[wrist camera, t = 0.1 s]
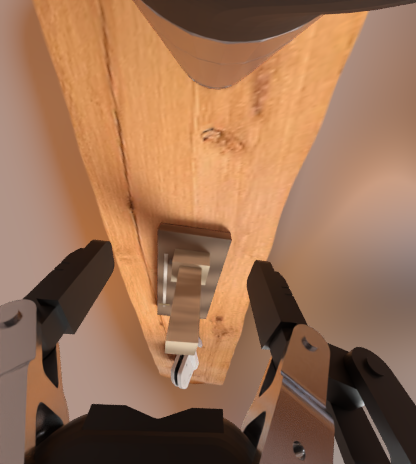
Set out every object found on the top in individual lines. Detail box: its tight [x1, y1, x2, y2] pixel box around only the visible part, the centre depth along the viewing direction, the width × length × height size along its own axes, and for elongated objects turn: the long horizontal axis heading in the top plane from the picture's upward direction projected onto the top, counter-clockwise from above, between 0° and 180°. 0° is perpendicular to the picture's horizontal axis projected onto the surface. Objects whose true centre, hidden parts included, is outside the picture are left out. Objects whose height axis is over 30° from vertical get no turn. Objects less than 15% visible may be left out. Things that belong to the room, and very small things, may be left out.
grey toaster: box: [171, 352, 199, 389], centre depth 60 cm, size 17×5×10 cm, turn 3°
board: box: [158, 223, 232, 319], centre depth 36 cm, size 26×12×2 cm, turn 170°
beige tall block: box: [165, 249, 210, 356], centre depth 26 cm, size 5×7×14 cm
